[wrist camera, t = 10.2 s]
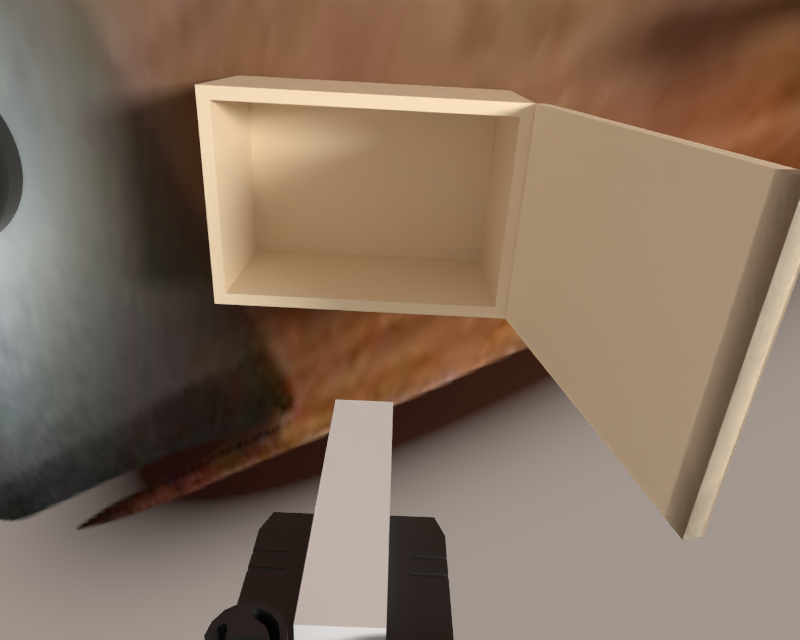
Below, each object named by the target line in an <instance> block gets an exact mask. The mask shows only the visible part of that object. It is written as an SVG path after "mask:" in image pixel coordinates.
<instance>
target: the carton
mask: <svg viewBox="0 0 800 640" xmlns="http://www.w3.org/2000/svg"><path fill="white" fill-rule="evenodd" d="M195 93H196V104H197V115H198V126H199V137H200V148H201V159H202V170H203V181H204V191H205V202H206V213H207V224H208V235H209V246H210V257H211V268H212V279H213V290H214V301H215V304H231V305H251V306H270V307H290V308H309V309H329V310H349V311H368V312H388V313H408V314H427V315H447V316H466V317H486V318H506V311H507V304H508V297H509V290H510V283H511V276H512V269H513V262H514V254H515V247H516V240H517V233H518V226H519V219H520V212H521V205H522V198H523V191H524V184H525V176H526V169H527V162H528V155H529V148H530V141H531V134H532V127H533V120H534V113H535V106H536V103H534V102H532V101H530V100H528V99H526V98H524V97H522V96H520V95H518V94H516V93H514V92H512V91H510V90H494V89H476V88H458V87H440V86H422V85H404V84H386V83H368V82H350V81H332V80H314V79H296V78H278V77H260V76H242V75H238V76H233V77H228V78H224V79H219V80H214V81H209V82H205V83H200V84H195Z"/></svg>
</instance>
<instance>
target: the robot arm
mask: <svg viewBox="0 0 800 640" xmlns="http://www.w3.org/2000/svg"><path fill="white" fill-rule="evenodd" d="M22 185H23V175H22V166H21V161H20V157H19V153H18V150H17V146H16V144H15V141H14V139H13V136H12V134H11V132H10V130H9V128H8V126H7V125H6V123H5V121H4V120H3V118H2V116H1V115H0V232H1V231H2V230H3V229H4V228H5V227H6V226H7V225H8V224H9V223H10V221H11V220H12V218H13V217H14V215H15V213H16V211H17V208H18V206H19V203H20V199H21V195H22ZM392 418H393V402H377V401H356V400H336V401H335V406H334V412H333V417H332V422H331V428H330V433H329V438H328V444H327V449H326V454H325V460H324V466H323V470H322V476H321V481H320V487H319V492H318V497H317V503H316V508H315V513H314V514H304V513H282V512H274V513H273V514H272V515H271V516H270V517H269V519H268V520H267V521H266V522H265V523H264V524H263V526H262V527H261V528H260V529H259V532H258V536H257V539H256V542H255V546H254V549H253V554H252V556H251V559H250V563H249V566H248V571H247V573H246V577H245V580H244V583H243V587H242V590H241V593H240V597H239V600H238V604H237V605H235V606H233V607H231V608H228V609H226V610H224V611H223V612H222V613H221V614H220V615H219V616H218V617H217V618H216V619H214V620H213V621H212V623H211V624H210V626H209V628H208V630H207V632H206V633H205V635H204V637H205V640H453V627H452V616H451V603H450V591H449V579H448V567H447V560H446V559H447V558H446V544H445V535H444V534H443V532H442V530H441V528H440V527H439V525H438V523H437V522H436V520H435V518H432V517H408V516H390V487H391V452H392Z"/></svg>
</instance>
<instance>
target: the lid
mask: <svg viewBox="0 0 800 640" xmlns="http://www.w3.org/2000/svg"><path fill="white" fill-rule="evenodd" d="M799 271H800V169H795V168H791V167H787V166H783V165H779V164H775V163H772V162H768V161H764V160H760V159H756V158H753V157H749V156H745V155H741V154H737V153H734V152H730V151H726V150H722V149H718V148H714V147H711V146H707V145H703V144H699V143H695V142H692V141H688V140H684V139H680V138H676V137H673V136H669V135H665V134H661V133H657V132H653V131H650V130H646V129H642V128H638V127H634V126H631V125H627V124H623V123H619V122H615V121H611V120H608V119H604V118H600V117H596V116H592V115H589V114H585V113H581V112H577V111H573V110H570V109H566V108H562V107H558V106H554V105H550V104H536V108H535V115H534V122H533V129H532V136H531V143H530V151H529V158H528V165H527V172H526V179H525V186H524V193H523V200H522V207H521V214H520V221H519V228H518V235H517V243H516V250H515V257H514V264H513V271H512V278H511V285H510V292H509V299H508V306H507V313H506V320H507V321H508V323H509V324H510V325H511V326H512V328H513V329H514V330H515V331H516V333H517V334H518V335H519V336H520V338H521V339H522V340H523V341H524V343H525V344H526V345H527V346H528V348H529V349H530V350H531V351H532V353H533V354H534V355H535V356H536V358H537V359H538V360H539V361H540V362H541V364H542V365H543V366H544V368H545V369H546V370H547V371H548V372H549V374H550V375H551V376H552V378H553V379H554V380H555V381H556V382H557V384H558V385H559V386H560V388H561V389H562V390H563V391H564V392H565V394H566V395H567V396H568V397H569V399H570V400H571V401H572V402H573V404H574V405H575V406H576V407H577V409H578V410H579V411H580V412H581V414H582V415H583V416H584V417H585V419H586V420H587V421H588V422H589V424H590V425H591V426H592V427H593V429H594V430H595V431H596V432H597V434H598V435H599V436H600V437H601V439H602V440H603V441H604V442H605V444H606V445H607V446H608V447H609V449H610V450H611V451H612V452H613V454H614V455H615V456H616V457H617V459H618V460H619V461H620V462H621V464H622V465H623V466H624V467H625V469H626V470H627V471H628V472H629V474H630V475H631V476H632V477H633V479H634V480H635V481H636V482H637V484H638V485H639V486H640V487H641V489H642V490H643V491H644V492H645V494H646V495H647V496H648V497H649V499H650V500H651V501H652V502H653V504H654V505H655V506H656V507H657V509H658V510H659V511H660V512H661V513H662V515H663V516H664V517H665V518H666V520H667V521H668V522H669V524H670V525H671V526H672V527H673V529H674V530H675V531H676V532H677V533H678V535H679V536H680V537H681V538H682V539H683V540H684V539H692V538H701V537H703V535H704V533H705V530H706V527H707V524H708V522H709V519H710V516H711V514H712V511H713V508H714V505H715V502H716V500H717V497H718V494H719V492H720V489H721V486H722V483H723V480H724V478H725V475H726V472H727V470H728V467H729V464H730V461H731V458H732V456H733V453H734V450H735V448H736V445H737V442H738V439H739V436H740V433H741V431H742V428H743V425H744V423H745V420H746V417H747V414H748V412H749V409H750V406H751V404H752V401H753V398H754V395H755V393H756V390H757V387H758V384H759V381H760V379H761V376H762V373H763V371H764V368H765V365H766V362H767V359H768V356H769V354H770V351H771V349H772V346H773V343H774V340H775V338H776V335H777V332H778V329H779V326H780V324H781V321H782V318H783V315H784V313H785V310H786V307H787V304H788V302H789V299H790V296H791V293H792V291H793V288H794V285H795V282H796V280H797V276H798V274H799Z"/></svg>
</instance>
